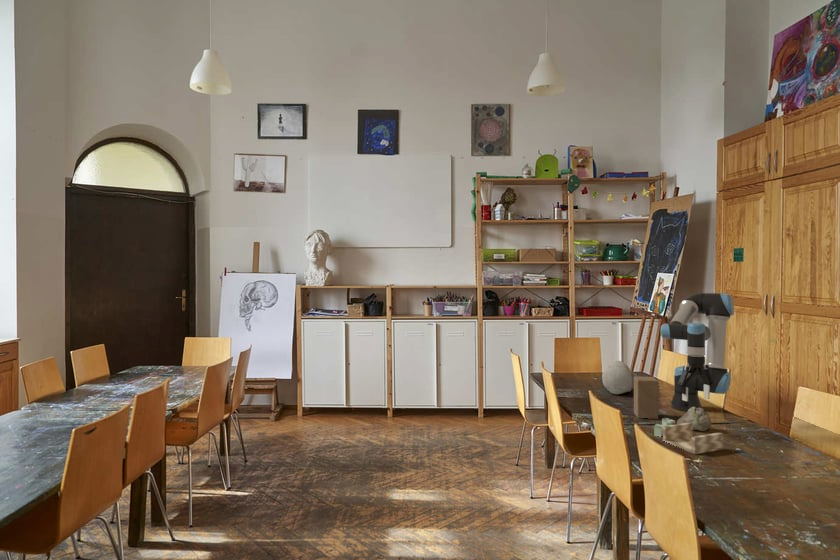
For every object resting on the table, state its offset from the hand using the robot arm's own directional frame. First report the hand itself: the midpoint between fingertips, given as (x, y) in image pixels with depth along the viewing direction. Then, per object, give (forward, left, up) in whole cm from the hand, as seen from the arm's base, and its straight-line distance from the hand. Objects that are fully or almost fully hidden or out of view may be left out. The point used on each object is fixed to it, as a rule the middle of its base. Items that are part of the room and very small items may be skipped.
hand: (695, 399), depth 246 cm
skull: (-18, -73, -15) cm, 77 cm away
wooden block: (+6, -26, -15) cm, 31 cm away
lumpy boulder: (0, -1, -15) cm, 15 cm away
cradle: (+20, +16, -15) cm, 29 cm away
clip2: (+24, +1, -15) cm, 28 cm away
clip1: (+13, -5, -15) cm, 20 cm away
